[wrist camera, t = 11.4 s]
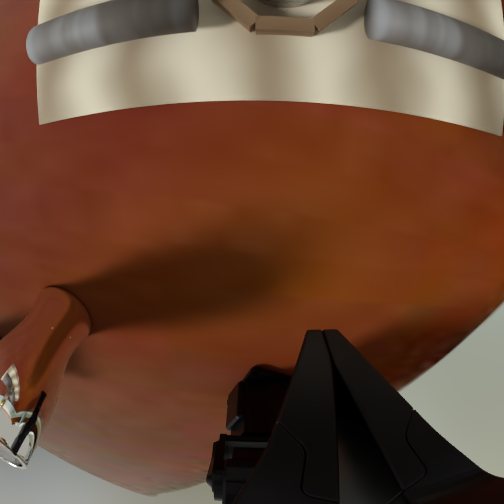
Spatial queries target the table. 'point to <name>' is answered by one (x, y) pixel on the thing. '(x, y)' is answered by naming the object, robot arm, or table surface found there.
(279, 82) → the shaft board
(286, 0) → the metal cup
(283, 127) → the table surface
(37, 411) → the beer glass
